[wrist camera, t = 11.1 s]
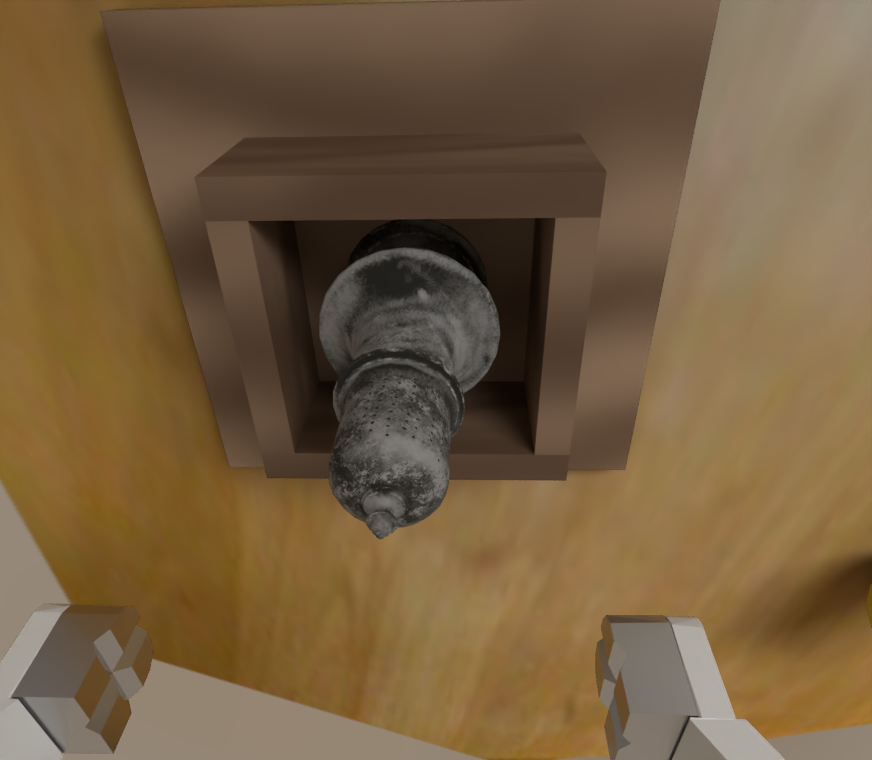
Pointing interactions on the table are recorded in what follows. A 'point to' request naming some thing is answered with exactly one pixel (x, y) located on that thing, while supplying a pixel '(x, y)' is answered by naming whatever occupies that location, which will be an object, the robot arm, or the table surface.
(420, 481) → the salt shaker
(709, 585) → the table surface
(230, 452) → the caddy
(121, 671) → the robot arm
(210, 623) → the table surface
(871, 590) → the lemon
